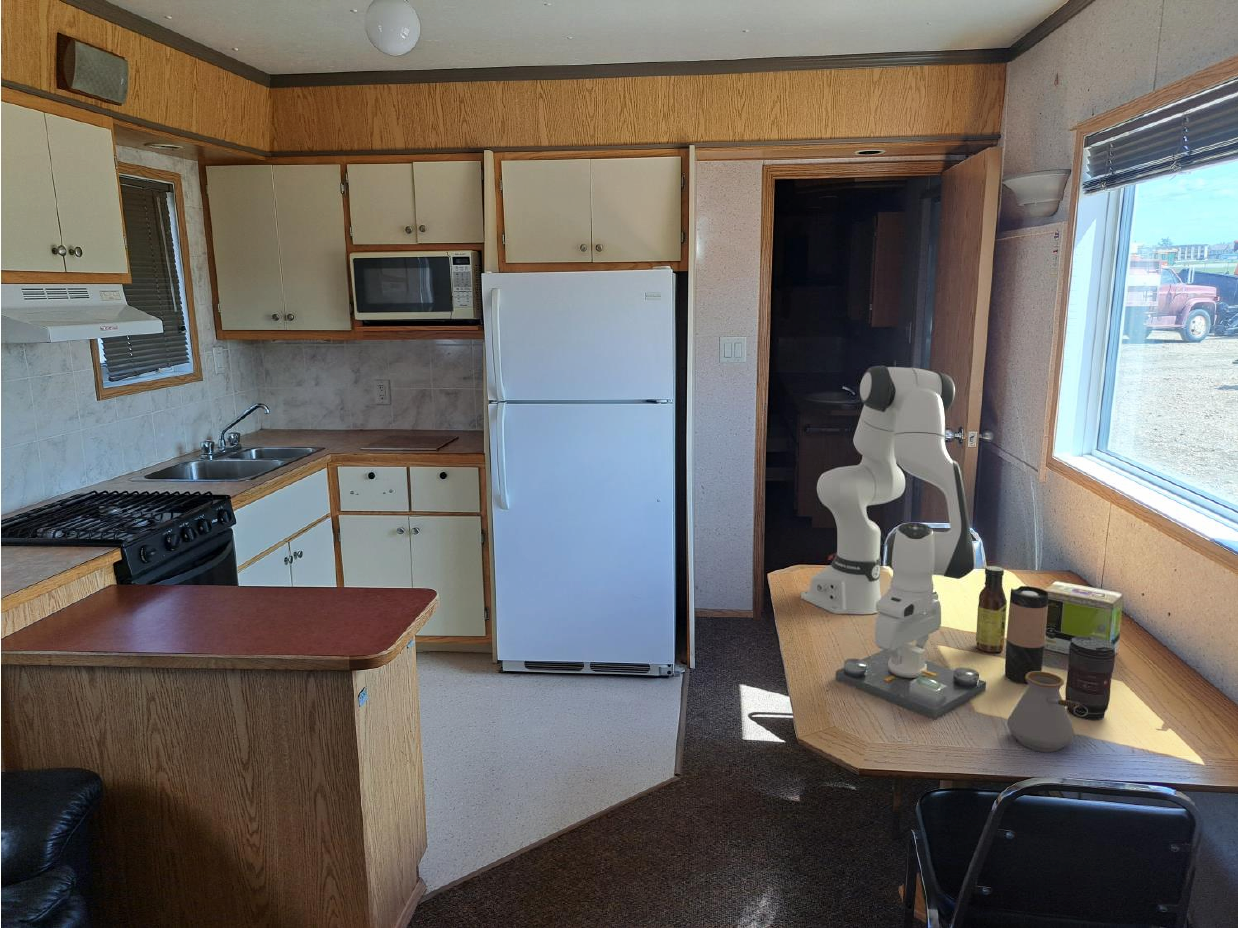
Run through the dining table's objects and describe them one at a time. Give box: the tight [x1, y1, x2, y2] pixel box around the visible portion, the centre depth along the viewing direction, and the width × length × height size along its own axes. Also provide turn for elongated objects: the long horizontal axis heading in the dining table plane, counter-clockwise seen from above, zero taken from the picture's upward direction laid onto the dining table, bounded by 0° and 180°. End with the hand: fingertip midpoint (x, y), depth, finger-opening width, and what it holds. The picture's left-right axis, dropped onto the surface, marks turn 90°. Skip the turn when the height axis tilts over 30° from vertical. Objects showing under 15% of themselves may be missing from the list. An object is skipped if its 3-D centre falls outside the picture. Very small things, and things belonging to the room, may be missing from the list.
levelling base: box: [834, 649, 987, 720], centre depth 188 cm, size 24×20×6 cm
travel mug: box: [1004, 585, 1049, 686], centre depth 190 cm, size 8×8×20 cm
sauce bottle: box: [975, 565, 1008, 653], centre depth 206 cm, size 6×6×20 cm
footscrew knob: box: [888, 643, 937, 678], centre depth 190 cm, size 11×8×6 cm
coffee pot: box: [1006, 671, 1088, 753], centre depth 159 cm, size 21×12×15 cm, turn 175°
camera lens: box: [1064, 636, 1116, 721], centre depth 175 cm, size 8×8×15 cm
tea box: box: [1044, 580, 1124, 655], centre depth 205 cm, size 15×10×15 cm
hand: (907, 658), depth 191 cm, fingers open, 7 cm apart
